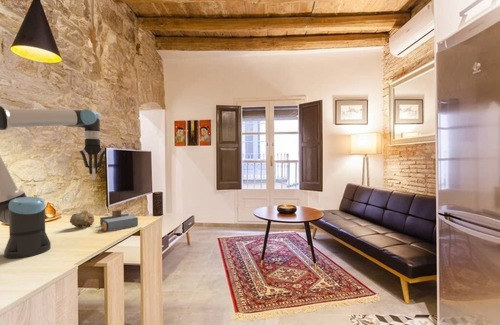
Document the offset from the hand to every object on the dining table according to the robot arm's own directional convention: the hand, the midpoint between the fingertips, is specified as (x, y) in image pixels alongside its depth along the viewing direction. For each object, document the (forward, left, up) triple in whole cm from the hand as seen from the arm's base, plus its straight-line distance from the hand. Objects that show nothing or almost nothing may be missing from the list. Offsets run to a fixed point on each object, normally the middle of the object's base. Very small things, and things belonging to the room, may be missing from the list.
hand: (93, 179), depth 145 cm
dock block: (+12, -3, -29) cm, 31 cm away
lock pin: (+10, -8, -29) cm, 31 cm away
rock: (-4, +10, -29) cm, 31 cm away
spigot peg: (+12, +1, -29) cm, 31 cm away
